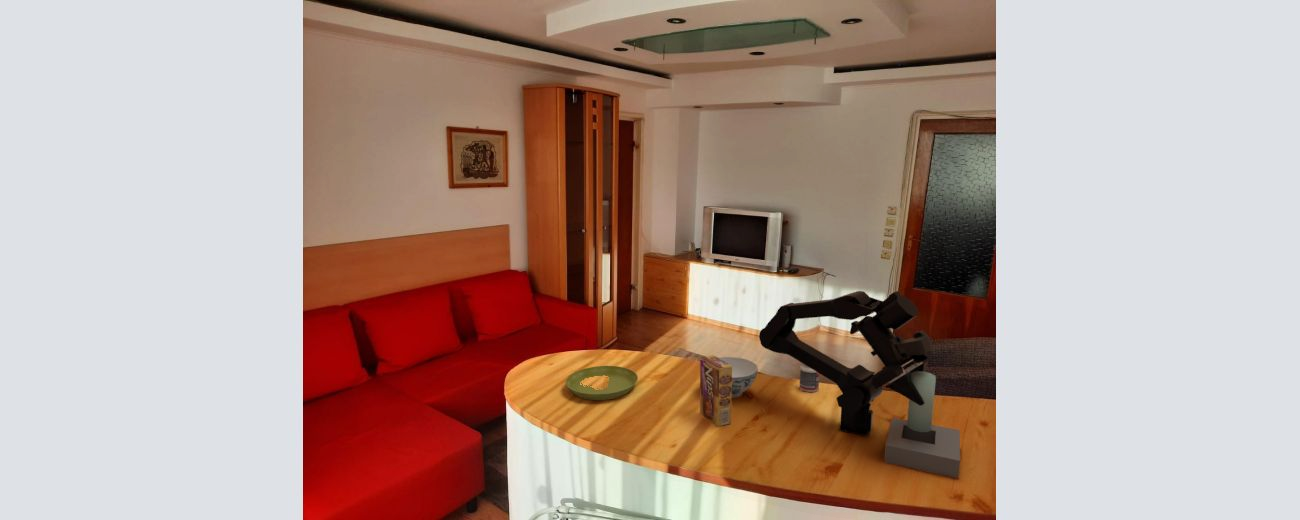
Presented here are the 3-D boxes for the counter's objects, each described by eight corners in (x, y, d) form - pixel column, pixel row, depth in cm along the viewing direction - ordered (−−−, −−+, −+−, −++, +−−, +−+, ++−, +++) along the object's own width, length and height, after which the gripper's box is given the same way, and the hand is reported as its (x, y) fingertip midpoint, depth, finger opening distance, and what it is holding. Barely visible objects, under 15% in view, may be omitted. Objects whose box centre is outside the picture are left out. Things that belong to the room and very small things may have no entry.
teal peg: (902, 423, 126) (906, 372, 123) (920, 420, 127) (925, 370, 125) (917, 433, 121) (921, 381, 119) (936, 430, 122) (941, 378, 120)
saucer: (652, 383, 165) (651, 373, 164) (609, 411, 148) (609, 400, 147) (596, 370, 176) (595, 360, 175) (550, 394, 159) (550, 384, 158)
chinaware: (746, 409, 147) (746, 381, 146) (694, 397, 154) (694, 371, 153) (764, 387, 160) (765, 362, 158) (716, 378, 167) (716, 353, 166)
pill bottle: (819, 393, 155) (820, 362, 154) (799, 391, 157) (800, 361, 155) (817, 385, 161) (818, 355, 159) (798, 384, 162) (799, 354, 160)
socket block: (884, 462, 121) (885, 445, 120) (891, 433, 133) (892, 417, 132) (958, 478, 115) (960, 460, 114) (958, 446, 127) (959, 430, 126)
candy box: (732, 423, 139) (733, 365, 136) (718, 427, 137) (718, 368, 135) (713, 409, 147) (713, 354, 144) (699, 412, 145) (699, 357, 142)
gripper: (888, 331, 116) (939, 397, 110) (927, 312, 128) (975, 372, 123) (851, 357, 124) (897, 421, 118) (890, 337, 136) (934, 394, 130)
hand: (927, 400), depth 122 cm, fingers closed on teal peg, 5 cm apart
